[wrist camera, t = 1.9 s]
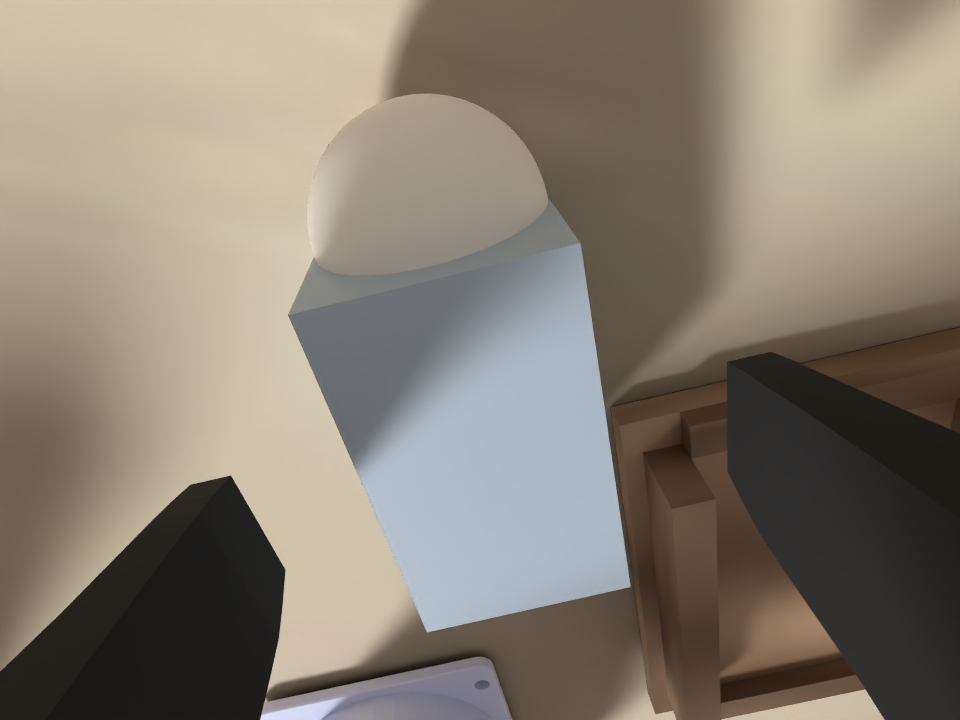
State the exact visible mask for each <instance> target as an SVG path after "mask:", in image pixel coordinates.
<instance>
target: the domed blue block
mask: <svg viewBox="0 0 960 720" xmlns="http://www.w3.org/2000/svg"><path fill="white" fill-rule="evenodd" d="M307 220H308V232H309V238H310V243H311V248H312V251H313V254H314V258H313V261H312V263H311V265H310V267H309V270H308V272H307V274H306V276H305V279H304V281H303V283H302V285H301V287H300V290H299V292H298V294H297V296H296V299H295V301H294V303H293V305H292V308H291V310H290V312H289V314H288V316H289V318H290V320H291V323H292V325H293V327H294V330H295V332H296V334H297V336H298V339H299V341H300V343H301V346H302V348H303V350H304V352H305V355H306V357H307V359H308V362H309V364H310V366H311V368H312V371H313V373H314V375H315V378H316V380H317V382H318V384H319V387H320V389H321V391H322V394H323V396H324V398H325V400H326V403H327V405H328V407H329V410H330V412H331V414H332V416H333V419H334V421H335V423H336V426H337V428H338V430H339V432H340V435H341V437H342V439H343V442H344V444H345V446H346V448H347V451H348V453H349V455H350V458H351V460H352V462H353V464H354V467H355V469H356V471H357V474H358V476H359V478H360V480H361V483H362V485H363V487H364V490H365V492H366V494H367V496H368V499H369V501H370V503H371V506H372V508H373V510H374V512H375V515H376V517H377V519H378V522H379V524H380V526H381V528H382V531H383V533H384V535H385V538H386V540H387V542H388V544H389V547H390V549H391V551H392V554H393V556H394V558H395V560H396V563H397V565H398V567H399V570H400V572H401V574H402V576H403V579H404V581H405V583H406V586H407V588H408V590H409V592H410V595H411V597H412V599H413V602H414V604H415V606H416V608H417V611H418V613H419V615H420V618H421V620H422V622H423V624H424V627H425V629H426V631H427V632H431V631H436V630H440V629H445V628H449V627H454V626H458V625H463V624H467V623H472V622H476V621H480V620H485V619H489V618H494V617H498V616H503V615H507V614H512V613H516V612H521V611H525V610H530V609H534V608H539V607H543V606H548V605H552V604H557V603H561V602H566V601H570V600H575V599H579V598H584V597H588V596H593V595H597V594H602V593H606V592H611V591H615V590H620V589H624V588H629V587H631V586H630V579H629V572H628V565H627V559H626V552H625V545H624V538H623V531H622V524H621V517H620V510H619V504H618V497H617V490H616V483H615V476H614V469H613V462H612V455H611V449H610V442H609V435H608V428H607V421H606V414H605V407H604V400H603V394H602V387H601V380H600V373H599V366H598V359H597V352H596V345H595V339H594V332H593V325H592V318H591V311H590V304H589V297H588V290H587V284H586V277H585V270H584V263H583V256H582V249H581V243H580V241H579V240H578V239H577V237H576V236H575V234H574V233H573V232H572V230H571V229H570V227H569V226H568V224H567V223H566V222H565V220H564V219H563V217H562V216H561V215H560V213H559V212H558V210H557V209H556V207H555V206H554V205H553V203H552V202H551V200H550V199H549V198H548V196H547V192H546V188H545V184H544V181H543V178H542V176H541V173H540V171H539V168H538V166H537V164H536V162H535V160H534V158H533V156H532V155H531V153H530V151H529V149H528V148H527V147H526V145H525V144H524V143H523V141H522V140H521V139H520V137H519V136H518V135H517V134H516V133H515V132H514V131H513V130H512V129H511V128H510V127H509V126H508V125H507V124H506V123H504V122H503V121H502V120H500V119H499V118H498V117H497V116H495V115H494V114H492V113H490V112H489V111H487V110H485V109H483V108H482V107H480V106H478V105H476V104H473V103H471V102H468V101H466V100H464V99H460V98H456V97H452V96H448V95H441V94H431V93H427V94H411V95H405V96H400V97H396V98H393V99H390V100H387V101H384V102H381V103H379V104H377V105H375V106H373V107H371V108H369V109H367V110H365V111H364V112H362V113H361V114H360V115H358V116H357V117H355V118H354V119H352V120H351V121H350V122H349V123H348V124H347V125H346V126H345V127H344V128H343V129H341V130H340V131H339V132H338V134H337V135H336V136H335V137H334V139H333V140H332V141H331V143H330V144H329V145H328V147H327V148H326V150H325V152H324V154H323V155H322V157H321V159H320V161H319V164H318V166H317V169H316V171H315V174H314V176H313V179H312V183H311V187H310V191H309V197H308V207H307Z"/></svg>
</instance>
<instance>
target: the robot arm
mask: <svg viewBox="0 0 960 720" xmlns="http://www.w3.org/2000/svg"><path fill="white" fill-rule="evenodd" d="M727 470H728V474H729V476H730V478H731V480H732V482H733V484H734V486H735V488H736V490H737V492H738V494H739V496H740V498H741V500H742V502H743V504H744V506H745V508H746V509H747V511H748V513H749V515H750V517H751V519H752V521H753V523H754V524H755V526H756V528H757V530H758V532H759V534H760V535H761V537H762V538H763V540H764V541H765V543H766V544H767V546H768V547H769V549H770V550H771V552H772V553H773V555H774V556H775V558H776V559H777V561H778V562H779V564H780V565H781V567H782V568H783V570H784V571H785V572H786V574H787V575H788V577H789V578H790V580H791V581H792V583H793V584H794V586H795V587H796V589H797V590H798V592H799V593H800V594H801V596H802V597H803V599H804V600H805V602H806V603H807V605H808V606H809V608H810V609H811V610H812V612H813V613H814V615H815V616H816V618H817V619H818V621H819V622H820V623H821V625H822V626H823V628H824V629H825V631H826V632H827V634H828V635H829V637H830V638H831V639H832V641H833V642H834V644H835V645H836V647H837V648H838V650H839V651H840V653H841V654H842V655H843V657H844V658H845V660H846V661H847V663H848V664H849V666H850V667H851V669H852V670H853V671H854V673H855V674H856V676H857V677H858V679H859V680H860V682H861V683H862V685H863V686H864V688H865V689H866V691H867V692H868V694H869V696H870V697H871V699H872V700H873V702H874V704H875V705H876V707H877V708H878V710H879V711H880V713H881V715H882V716H883V718H884V719H885V720H960V433H959V432H956V431H954V430H951V429H949V428H946V427H944V426H942V425H939V424H937V423H934V422H932V421H930V420H927V419H925V418H922V417H920V416H918V415H915V414H913V413H911V412H908V411H906V410H904V409H901V408H899V407H897V406H895V405H892V404H890V403H888V402H885V401H883V400H881V399H879V398H876V397H874V396H872V395H870V394H867V393H865V392H863V391H861V390H858V389H856V388H854V387H852V386H849V385H847V384H845V383H843V382H840V381H838V380H836V379H834V378H831V377H829V376H827V375H825V374H822V373H820V372H818V371H816V370H813V369H811V368H809V367H807V366H804V365H802V364H800V363H797V362H795V361H793V360H790V359H788V358H785V357H783V356H780V355H777V354H775V353H772V352H768V353H764V354H759V355H755V356H750V357H746V358H742V359H737V360H733V361H729V362H727ZM284 580H285V568H284V567H283V565H282V563H281V562H280V560H279V558H278V556H277V555H276V553H275V551H274V549H273V548H272V546H271V544H270V542H269V541H268V539H267V537H266V536H265V534H264V532H263V530H262V529H261V527H260V525H259V523H258V522H257V520H256V518H255V516H254V515H253V513H252V511H251V510H250V508H249V506H248V504H247V503H246V501H245V499H244V497H243V496H242V494H241V492H240V490H239V489H238V487H237V485H236V484H235V482H234V480H233V478H232V477H231V476H227V477H223V478H218V479H214V480H210V481H205V482H201V483H197V484H192V485H190V486H189V487H188V488H187V489H185V490H184V491H183V492H182V493H181V494H180V495H178V496H177V497H176V498H175V499H174V500H173V501H172V502H171V503H170V504H169V505H168V506H167V507H166V508H165V509H164V510H163V511H162V512H161V513H160V514H159V515H158V516H156V517H155V518H154V519H153V520H152V521H151V522H150V523H149V524H148V525H147V526H146V527H145V528H144V530H143V531H142V532H141V533H140V534H139V535H138V536H137V537H136V538H135V539H134V540H133V541H132V542H131V543H130V544H129V545H128V546H127V547H126V548H125V549H124V550H123V551H122V552H121V553H120V554H119V555H118V556H117V557H116V558H115V559H114V560H113V561H112V562H111V563H110V564H109V565H108V566H107V567H106V568H105V569H104V570H103V571H102V572H101V573H100V574H99V575H98V576H97V577H96V578H95V579H94V580H93V581H92V582H91V583H90V584H89V585H88V586H87V587H86V588H85V589H84V590H83V591H82V592H81V593H80V595H79V596H78V597H77V598H76V599H75V600H74V601H73V602H72V603H71V604H70V605H69V606H68V607H67V608H66V609H65V610H64V611H63V612H62V613H61V614H60V615H59V616H58V617H57V618H56V619H55V620H54V621H52V622H51V623H50V624H49V625H48V626H47V627H46V628H45V629H44V630H43V631H42V632H41V633H40V634H39V635H38V636H37V637H36V638H35V639H34V640H33V641H32V642H31V643H30V644H29V645H27V646H26V647H25V648H24V649H23V650H22V651H21V652H20V653H19V654H18V655H17V656H16V657H15V658H14V659H13V660H12V661H11V662H10V663H9V664H8V665H7V666H6V667H5V668H4V669H2V670H1V671H0V720H512V717H511V714H510V711H509V708H508V705H507V703H506V700H505V697H504V694H503V691H502V688H501V685H500V683H499V680H498V677H497V674H496V671H495V668H494V665H493V663H492V662H491V660H489V659H487V658H486V657H473V658H468V659H463V660H459V661H454V662H449V663H445V664H440V665H436V666H431V667H426V668H422V669H417V670H412V671H408V672H403V673H398V674H394V675H389V676H385V677H380V678H375V679H371V680H366V681H361V682H357V683H352V684H348V685H343V686H338V687H334V688H329V689H324V690H320V691H315V692H310V693H306V694H301V695H297V696H292V697H287V698H283V699H278V700H273V701H269V702H266V703H264V702H265V697H266V693H267V689H268V684H269V680H270V675H271V671H272V667H273V662H274V658H275V653H276V648H277V644H278V639H279V631H280V623H281V614H282V605H283V592H284Z"/></svg>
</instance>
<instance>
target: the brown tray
mask: <svg viewBox="0 0 960 720" xmlns="http://www.w3.org/2000/svg"><path fill="white" fill-rule="evenodd" d="M802 365H804V366H807V367H809V368H811V369H813V370H816V371H818V372H820V373H822V374H825V375H827V376H829V377H831V378H834V379H836V380H838V381H840V382H843V383H845V384H847V385H849V386H852V387H854V388H856V389H858V390H861V391H863V392H865V393H867V394H870V395H872V396H874V397H876V398H879V399H881V400H883V401H885V402H888V403H890V404H892V405H895V406H897V407H899V408H901V409H904V410H906V411H908V412H911V413H913V414H915V415H918V416H920V417H922V418H925V419H927V420H930V421H932V422H934V423H937V424H939V425H942V426H944V427H946V428H949V429H951V430H954V431H956V432H959V433H960V327H959V328H954V329H950V330H946V331H941V332H937V333H933V334H928V335H924V336H919V337H915V338H911V339H906V340H902V341H898V342H893V343H889V344H885V345H880V346H876V347H871V348H867V349H863V350H858V351H854V352H850V353H845V354H841V355H837V356H832V357H828V358H824V359H819V360H815V361H810V362H806V363H802ZM611 414H612V422H613V430H614V437H615V445H616V452H617V460H618V468H619V475H620V483H621V490H622V498H623V506H624V513H625V521H626V529H627V536H628V544H629V551H630V559H631V567H632V574H633V582H634V589H635V597H636V605H637V612H638V620H639V628H640V635H641V643H642V650H643V658H644V666H645V673H646V681H647V688H648V694H649V697H650V700H651V703H652V706H653V709H654V712H655V714H659V713H663V712H668V711H674V714H675V717H676V720H721V719H725V718H730V717H734V716H739V715H744V714H749V713H754V712H758V711H763V710H768V709H773V708H778V707H782V706H787V705H792V704H797V703H802V702H806V701H811V700H816V699H821V698H825V697H830V696H835V695H840V694H845V693H849V692H854V691H859V690H864V689H865V688H864V686H863V685H862V683H861V682H860V680H859V679H858V677H857V676H856V674H855V673H854V671H853V670H852V669H851V667H850V666H849V664H848V663H847V661H846V660H845V658H844V657H843V655H842V654H841V653H840V651H839V650H838V648H837V647H836V645H835V644H834V642H833V641H832V639H831V638H830V637H829V635H828V634H827V632H826V631H825V629H824V628H823V626H822V625H821V623H820V622H819V621H818V619H817V618H816V616H815V615H814V613H813V612H812V610H811V609H810V608H809V606H808V605H807V603H806V602H805V600H804V599H803V597H802V596H801V594H800V593H799V592H798V590H797V589H796V587H795V586H794V584H793V583H792V581H791V580H790V578H789V577H788V575H787V574H786V572H785V571H784V570H783V568H782V567H781V565H780V564H779V562H778V561H777V559H776V558H775V556H774V555H773V553H772V552H771V550H770V549H769V547H768V546H767V544H766V543H765V541H764V540H763V538H762V537H761V535H760V534H759V532H758V530H757V528H756V526H755V524H754V523H753V521H752V519H751V517H750V515H749V513H748V511H747V509H746V508H745V506H744V504H743V502H742V500H741V498H740V496H739V494H738V492H737V490H736V488H735V486H734V484H733V482H732V480H731V478H730V476H729V474H728V470H727V381H723V382H719V383H715V384H710V385H706V386H701V387H697V388H693V389H688V390H684V391H680V392H675V393H671V394H667V395H662V396H658V397H654V398H649V399H645V400H640V401H636V402H632V403H627V404H623V405H619V406H614V407H611Z"/></svg>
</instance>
